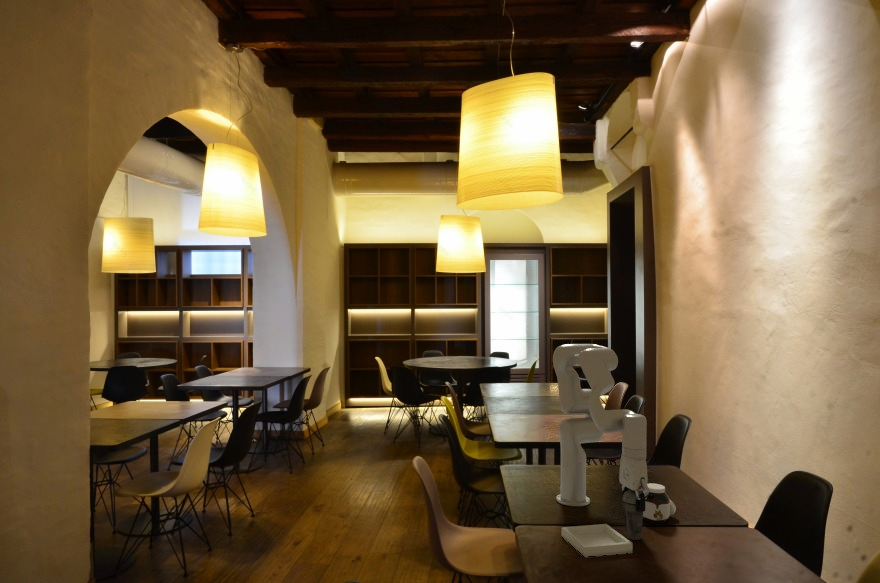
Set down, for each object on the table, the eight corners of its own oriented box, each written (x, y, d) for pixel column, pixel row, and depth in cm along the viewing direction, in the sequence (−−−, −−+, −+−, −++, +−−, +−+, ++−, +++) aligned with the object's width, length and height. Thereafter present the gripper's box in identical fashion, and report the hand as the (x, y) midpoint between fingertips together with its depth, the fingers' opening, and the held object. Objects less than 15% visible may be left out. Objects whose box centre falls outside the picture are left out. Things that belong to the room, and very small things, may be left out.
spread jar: (638, 521, 209) (639, 487, 209) (640, 510, 219) (640, 478, 219) (675, 526, 204) (676, 492, 204) (675, 515, 215) (676, 482, 215)
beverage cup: (646, 542, 190) (647, 479, 190) (622, 540, 191) (623, 477, 191) (643, 533, 197) (644, 473, 197) (620, 531, 198) (621, 471, 199)
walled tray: (561, 536, 194) (561, 527, 194) (606, 532, 197) (606, 523, 197) (584, 557, 178) (584, 547, 178) (632, 553, 182) (632, 543, 182)
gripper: (610, 446, 202) (609, 499, 202) (638, 460, 185) (638, 517, 185) (630, 445, 204) (629, 497, 203) (660, 459, 187) (659, 515, 187)
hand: (633, 506), depth 194 cm, fingers closed on beverage cup, 7 cm apart
